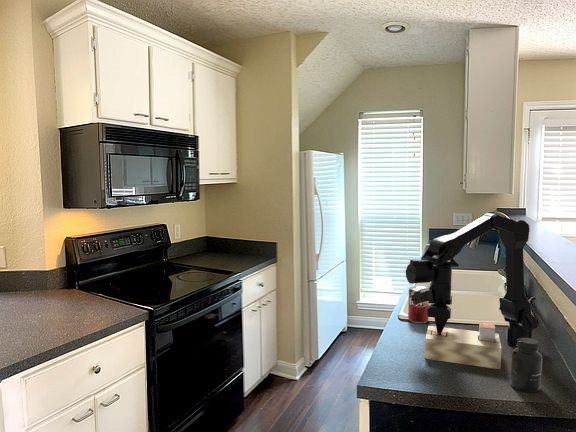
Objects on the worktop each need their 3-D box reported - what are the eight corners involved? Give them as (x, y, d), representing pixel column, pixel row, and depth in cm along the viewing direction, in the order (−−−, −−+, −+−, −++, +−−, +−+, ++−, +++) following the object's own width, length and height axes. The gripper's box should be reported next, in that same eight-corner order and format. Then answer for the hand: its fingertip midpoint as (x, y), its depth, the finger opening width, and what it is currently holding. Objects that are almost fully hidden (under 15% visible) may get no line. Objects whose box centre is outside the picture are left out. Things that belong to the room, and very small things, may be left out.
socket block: (497, 353, 136) (498, 333, 135) (500, 369, 125) (501, 348, 124) (427, 344, 143) (428, 325, 142) (424, 358, 132) (425, 338, 131)
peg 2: (493, 343, 132) (494, 324, 132) (494, 348, 129) (495, 328, 128) (478, 341, 134) (479, 322, 133) (479, 346, 130) (479, 326, 129)
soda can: (429, 324, 162) (430, 291, 161) (408, 323, 163) (409, 290, 162) (427, 318, 169) (428, 286, 168) (407, 316, 170) (408, 285, 169)
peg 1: (445, 350, 137) (446, 331, 137) (445, 355, 134) (446, 335, 133) (432, 348, 139) (432, 329, 138) (431, 353, 135) (431, 334, 134)
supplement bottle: (539, 395, 110) (542, 347, 109) (508, 388, 113) (510, 342, 112) (541, 384, 116) (543, 339, 115) (511, 378, 119) (513, 333, 118)
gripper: (416, 272, 146) (414, 320, 147) (409, 286, 128) (408, 339, 130) (452, 275, 142) (451, 324, 143) (451, 289, 124) (449, 345, 126)
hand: (439, 332), depth 136 cm, fingers closed, pressing on peg 1
